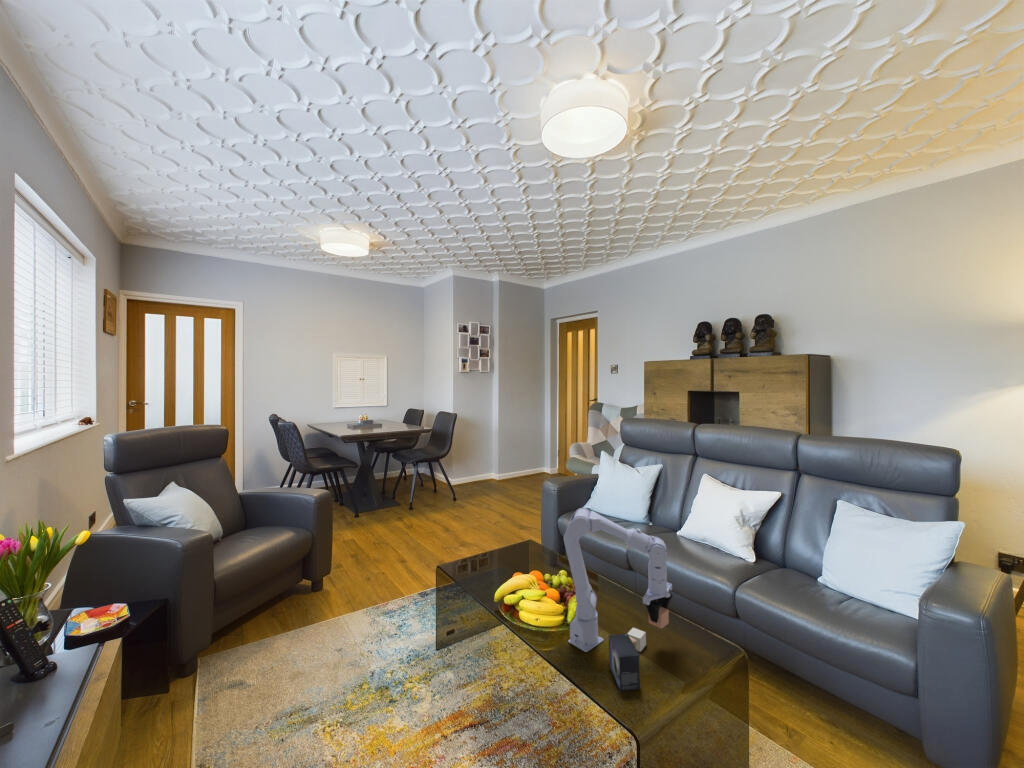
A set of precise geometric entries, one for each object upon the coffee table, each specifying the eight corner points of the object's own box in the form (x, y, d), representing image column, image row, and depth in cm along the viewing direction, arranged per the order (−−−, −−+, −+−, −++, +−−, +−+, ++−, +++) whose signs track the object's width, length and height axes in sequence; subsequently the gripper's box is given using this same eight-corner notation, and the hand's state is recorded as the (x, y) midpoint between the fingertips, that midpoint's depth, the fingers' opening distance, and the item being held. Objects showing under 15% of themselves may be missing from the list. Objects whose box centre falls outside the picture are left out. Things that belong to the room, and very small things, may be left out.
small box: (607, 667, 138) (607, 634, 138) (628, 665, 139) (627, 632, 138) (619, 692, 128) (618, 656, 127) (641, 690, 128) (640, 654, 128)
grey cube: (640, 652, 145) (640, 638, 145) (627, 647, 148) (627, 633, 148) (645, 645, 149) (645, 632, 148) (633, 640, 151) (632, 627, 151)
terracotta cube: (661, 628, 142) (661, 614, 142) (648, 623, 146) (648, 609, 146) (668, 623, 145) (668, 609, 145) (656, 617, 149) (656, 604, 149)
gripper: (656, 589, 137) (657, 632, 138) (680, 573, 147) (681, 614, 147) (636, 581, 143) (637, 623, 143) (660, 567, 152) (661, 606, 153)
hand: (658, 618), depth 146 cm, fingers closed on terracotta cube, 4 cm apart
